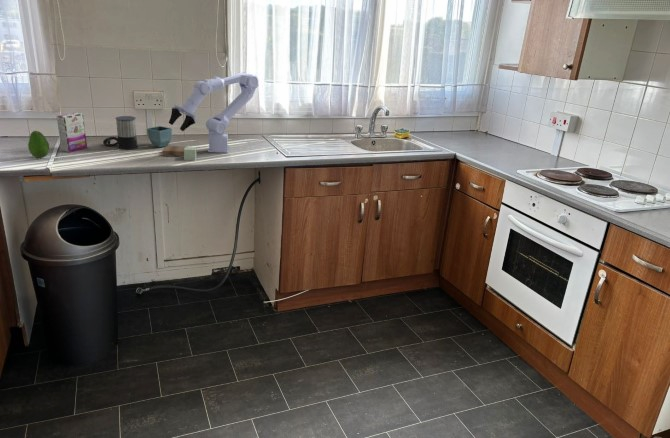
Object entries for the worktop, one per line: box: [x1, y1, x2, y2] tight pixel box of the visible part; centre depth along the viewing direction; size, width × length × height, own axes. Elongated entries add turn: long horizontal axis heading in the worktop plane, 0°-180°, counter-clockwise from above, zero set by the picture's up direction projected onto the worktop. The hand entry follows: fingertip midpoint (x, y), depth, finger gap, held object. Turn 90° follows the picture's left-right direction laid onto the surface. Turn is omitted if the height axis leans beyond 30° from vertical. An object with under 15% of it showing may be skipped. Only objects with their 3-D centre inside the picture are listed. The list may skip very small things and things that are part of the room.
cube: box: [183, 146, 197, 161], centre depth 237 cm, size 5×5×5 cm
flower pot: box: [146, 125, 173, 148], centre depth 253 cm, size 9×9×9 cm
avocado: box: [27, 130, 50, 159], centre depth 219 cm, size 8×8×12 cm
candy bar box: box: [56, 112, 88, 153], centre depth 235 cm, size 11×5×16 cm, turn 161°
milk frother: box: [102, 115, 139, 151], centre depth 245 cm, size 14×16×15 cm
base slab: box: [162, 145, 188, 158], centre depth 243 cm, size 10×10×2 cm
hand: (175, 127), depth 236 cm, fingers open, 7 cm apart
